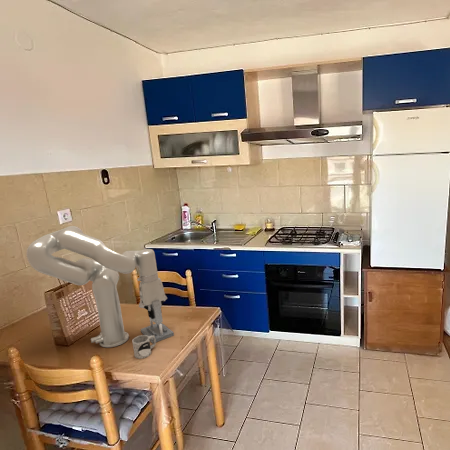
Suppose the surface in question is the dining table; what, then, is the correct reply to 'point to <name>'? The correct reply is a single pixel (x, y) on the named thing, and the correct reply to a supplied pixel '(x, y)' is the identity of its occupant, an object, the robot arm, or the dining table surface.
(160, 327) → the grey peg stand
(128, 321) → the dining table surface
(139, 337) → the mug
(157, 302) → the block
